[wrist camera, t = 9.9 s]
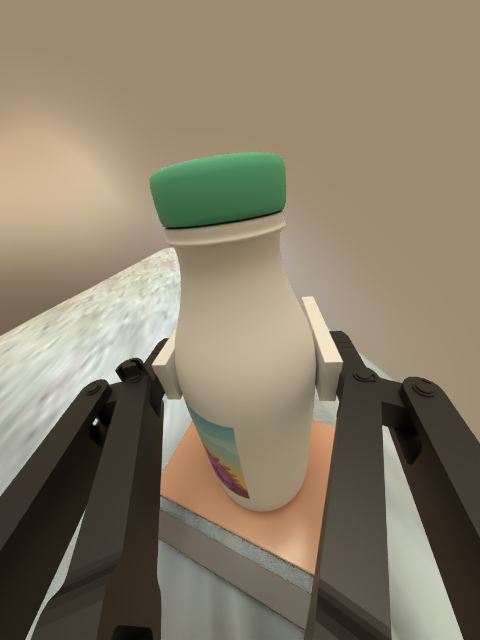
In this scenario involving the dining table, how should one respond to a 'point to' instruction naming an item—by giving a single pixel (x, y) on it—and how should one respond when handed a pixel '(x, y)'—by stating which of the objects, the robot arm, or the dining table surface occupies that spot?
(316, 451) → the tile
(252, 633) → the dining table surface
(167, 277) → the dining table surface
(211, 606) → the dining table surface
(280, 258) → the milk bottle
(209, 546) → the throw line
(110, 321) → the dining table surface
